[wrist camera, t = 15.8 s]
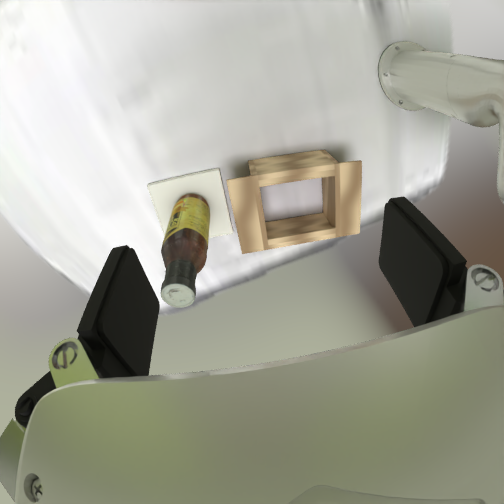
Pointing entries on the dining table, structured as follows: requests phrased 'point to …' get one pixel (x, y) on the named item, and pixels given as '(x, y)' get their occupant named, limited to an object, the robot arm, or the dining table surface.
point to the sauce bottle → (185, 249)
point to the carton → (304, 227)
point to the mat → (199, 184)
